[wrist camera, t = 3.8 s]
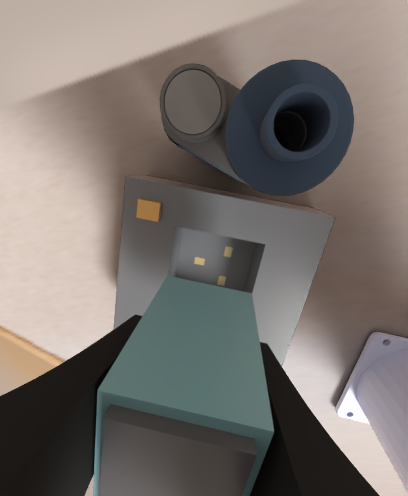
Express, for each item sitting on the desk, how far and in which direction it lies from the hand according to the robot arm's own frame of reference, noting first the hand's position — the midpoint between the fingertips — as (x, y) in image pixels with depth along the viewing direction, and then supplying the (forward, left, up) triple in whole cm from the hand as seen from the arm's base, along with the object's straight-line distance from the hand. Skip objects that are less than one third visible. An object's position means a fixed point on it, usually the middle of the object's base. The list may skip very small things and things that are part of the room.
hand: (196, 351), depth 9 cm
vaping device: (0, -8, -9) cm, 12 cm away
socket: (0, 0, -9) cm, 9 cm away
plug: (0, 0, -2) cm, 2 cm away
